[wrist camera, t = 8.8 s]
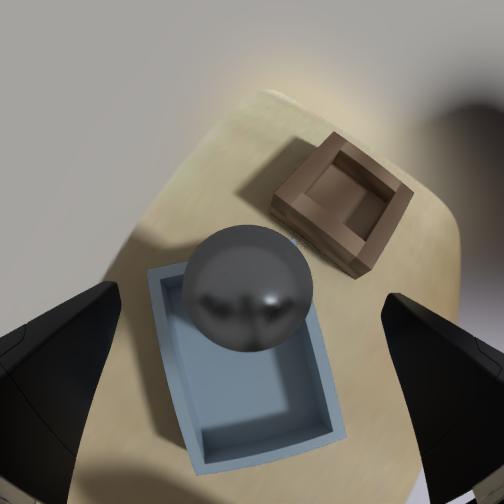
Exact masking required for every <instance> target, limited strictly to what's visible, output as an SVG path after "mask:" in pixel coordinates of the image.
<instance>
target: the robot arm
mask: <svg viewBox="0 0 504 504" xmlns="http://www.w3.org/2000/svg"><path fill="white" fill-rule="evenodd" d="M120 312H121V298H120V294H119V289H118V285H117V283H116V282H115V281H103V282H101V283H99V284H97V285H96V286H94V287H92V288H90V289H88V290H86V291H84V292H82V293H80V294H78V295H77V296H75V297H73V298H71V299H69V300H67V301H65V302H64V303H62V304H60V305H58V306H56V307H55V308H53V309H51V310H49V311H47V312H45V313H44V314H42V315H40V316H38V317H37V318H35V319H33V320H31V321H29V322H28V323H27V324H24V325H22V326H21V327H19V328H17V329H15V330H13V331H12V332H10V333H8V334H6V335H4V336H2V337H1V338H0V504H36V501H38V502H40V503H42V504H67V499H68V494H69V489H70V484H71V479H72V475H73V470H74V466H75V462H76V458H75V457H77V453H78V449H79V445H80V441H81V437H82V434H83V430H84V427H85V423H86V420H87V416H88V413H89V410H90V407H91V403H92V400H93V397H94V394H95V391H96V388H97V385H98V382H99V379H100V376H101V373H102V371H103V368H104V365H105V362H106V359H107V357H108V354H109V351H110V348H111V345H112V342H113V338H114V334H115V330H116V326H117V322H118V319H119V315H120ZM381 321H382V325H383V328H384V332H385V336H386V340H387V344H388V348H389V352H390V355H391V358H392V361H393V364H394V367H395V370H396V373H397V376H398V379H399V382H400V385H401V388H402V391H403V394H404V398H405V401H406V404H407V407H408V411H409V414H410V418H411V421H412V425H413V428H414V432H415V436H416V439H417V443H418V447H419V451H420V455H421V460H422V464H423V469H424V473H425V478H426V483H427V488H428V493H429V498H430V504H446V503H448V502H450V501H452V500H454V499H456V498H458V497H460V496H462V495H463V494H465V493H467V492H469V491H470V490H473V493H474V495H475V498H474V499H473V500H471V501H469V502H468V503H466V504H504V353H502V352H500V351H499V350H496V349H495V348H493V347H491V346H490V345H488V344H486V343H485V342H483V341H481V340H480V339H478V338H476V337H474V336H473V335H471V334H470V333H468V332H466V331H465V330H463V329H461V328H460V327H458V326H456V325H455V324H453V323H451V322H450V321H448V320H446V319H444V318H443V317H441V316H439V315H438V314H436V313H434V312H432V311H431V310H429V309H427V308H425V307H424V306H422V305H420V304H419V303H417V302H415V301H413V300H411V299H410V298H408V297H406V296H404V295H403V294H401V293H390V294H388V296H387V298H386V301H385V303H384V306H383V309H382V312H381Z"/></svg>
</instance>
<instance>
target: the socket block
mask: <svg viewBox="0 0 504 504" xmlns="http://www.w3.org/2000/svg"><path fill="white" fill-rule="evenodd" d="M413 194H414V192H413V191H412V190H411V189H409V188H408V187H407V186H406V185H405V184H403V183H402V182H401V181H400V180H399V179H397V178H396V177H395V176H394V175H393V174H391V173H390V172H389V171H388V170H386V169H385V168H384V167H383V166H381V165H380V164H379V163H377V162H376V161H375V160H373V159H372V158H371V157H369V156H368V155H367V154H365V153H364V152H363V151H361V150H360V149H359V148H357V147H356V146H354V145H353V144H352V143H350V142H349V141H347V140H346V139H345V138H343V137H342V136H340V135H339V134H337V133H336V132H333V133H332V134H331V135H330V136H329V137H328V138H327V139H326V140H325V141H324V142H323V143H322V144H321V145H320V146H319V147H318V148H317V149H316V150H315V151H314V152H313V153H312V154H311V155H310V156H309V157H308V158H307V159H306V160H305V161H304V162H303V163H302V165H301V166H300V167H299V168H298V169H297V170H296V171H295V172H294V173H293V174H292V175H291V176H290V177H289V178H288V179H287V180H286V181H285V182H284V183H283V184H282V185H281V187H280V188H279V189H278V190H277V191H276V192H275V193H274V195H273V199H272V203H271V206H270V210H269V212H270V213H272V214H273V215H274V216H276V217H277V218H278V219H280V220H281V221H282V222H283V223H285V224H286V225H287V226H289V227H290V228H291V229H293V230H294V231H295V232H296V233H298V234H299V235H300V236H302V237H303V238H304V239H305V240H307V241H308V242H309V243H311V244H312V245H313V246H314V247H316V248H317V249H318V250H319V251H321V252H322V253H323V254H324V255H326V256H327V257H328V258H329V259H331V260H332V261H333V262H334V263H336V264H337V265H338V266H339V267H341V268H342V269H343V270H344V271H345V272H347V273H348V274H349V275H350V276H352V277H353V278H354V279H355V280H356V279H357V278H359V277H361V276H362V275H364V274H366V273H367V272H369V271H371V270H372V268H373V267H374V265H375V263H376V262H377V260H378V258H379V257H380V255H381V253H382V252H383V250H384V248H385V246H386V245H387V243H388V241H389V239H390V238H391V236H392V234H393V232H394V231H395V229H396V227H397V225H398V223H399V221H400V219H401V218H402V216H403V214H404V212H405V210H406V208H407V206H408V204H409V202H410V200H411V198H412V196H413Z"/></svg>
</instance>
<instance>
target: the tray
mask: <svg viewBox="0 0 504 504" xmlns="http://www.w3.org/2000/svg"><path fill="white" fill-rule="evenodd" d="M290 241H291V242H292V243H293V244H294V245H295V246H296V247H297V244H296V241H295V239H290ZM187 264H188V261H185V262H180V263H175V264H171V265H166V266H161V267H157V268H152V269H147V270H146V271H147V279H148V285H149V292H150V298H151V304H152V310H153V316H154V321H155V327H156V332H157V337H158V342H159V347H160V351H161V356H162V360H163V365H164V369H165V373H166V377H167V382H168V386H169V389H170V393H171V397H172V401H173V405H174V408H175V412H176V415H177V419H178V422H179V426H180V429H181V432H182V435H183V439H184V442H185V445H186V448H187V451H188V454H189V457H190V460H191V463H192V466H193V468H194V471H195V474H196V476H197V475H205V474H212V473H219V472H225V471H231V470H236V469H241V468H246V467H251V466H256V465H260V464H264V463H268V462H272V461H276V460H280V459H284V458H287V457H291V456H294V455H298V454H301V453H304V452H307V451H310V450H313V449H316V448H319V447H322V446H325V445H328V444H330V443H333V442H336V441H338V440H341V439H344V438H346V437H347V436H346V432H345V427H344V422H343V418H342V413H341V409H340V405H339V400H338V396H337V392H336V387H335V383H334V379H333V375H332V371H331V367H330V363H329V359H328V355H327V351H326V347H325V343H324V339H323V336H322V332H321V328H320V324H319V321H318V317H317V313H316V310H315V306H314V303H313V299H312V303H311V307H310V310H309V313H308V315H307V317H306V319H305V321H304V322H303V324H302V325H301V327H300V328H299V329H298V330H297V331H296V333H295V334H294V335H292V336H291V337H290V338H289V339H288V340H286V341H285V342H283V343H282V344H280V345H278V346H276V347H274V348H271V349H268V350H265V351H259V352H248V353H246V352H237V351H232V350H228V349H226V348H223V347H221V346H219V345H217V344H215V343H213V342H212V341H210V340H209V339H207V338H206V337H205V336H204V335H203V334H202V333H201V332H200V331H199V330H198V329H197V328H196V326H195V325H194V324H193V322H192V320H191V319H190V317H189V315H188V313H187V310H186V308H185V304H184V300H183V292H182V283H183V276H184V272H185V269H186V266H187Z"/></svg>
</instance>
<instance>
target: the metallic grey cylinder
mask: <svg viewBox="0 0 504 504" xmlns="http://www.w3.org/2000/svg"><path fill="white" fill-rule="evenodd" d="M182 292H183V300H184V304H185V308H186V310H187V313H188V315H189V317H190V319H191V320H192V322H193V324H194V325H195V326H196V328H197V329H198V330H199V331H200V332H201V333H202V334H203V335H204V336H205V337H206V338H207V339H209V340H210V341H212V342H213V343H215V344H217V345H219V346H221V347H223V348H226V349H228V350H232V351H237V352H246V353H248V352H259V351H265V350H268V349H271V348H274V347H276V346H278V345H280V344H282V343H283V342H285V341H286V340H288V339H289V338H290V337H291V336H292V335H294V334H295V333H296V331H297V330H298V329H299V328H300V327H301V325H302V324H303V322H304V321H305V319H306V317H307V315H308V313H309V310H310V307H311V303H312V297H313V282H312V276H311V272H310V269H309V266H308V263H307V261H306V260H305V258H304V256H303V254H302V253H301V252H300V250H299V249H298V248H297V247H296V246H295V245H294V244H293V243H292V242H291V241H290V240H289V239H288V238H286V237H285V236H283V235H282V234H280V233H278V232H276V231H274V230H272V229H269V228H266V227H262V226H256V225H238V226H232V227H229V228H225V229H223V230H220V231H218V232H216V233H214V234H213V235H211V236H210V237H208V238H207V239H206V240H204V241H203V242H202V243H201V244H200V245H199V246H198V247H197V249H196V250H195V251H194V252H193V254H192V256H191V257H190V259H189V261H188V264H187V266H186V269H185V272H184V276H183V283H182Z"/></svg>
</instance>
